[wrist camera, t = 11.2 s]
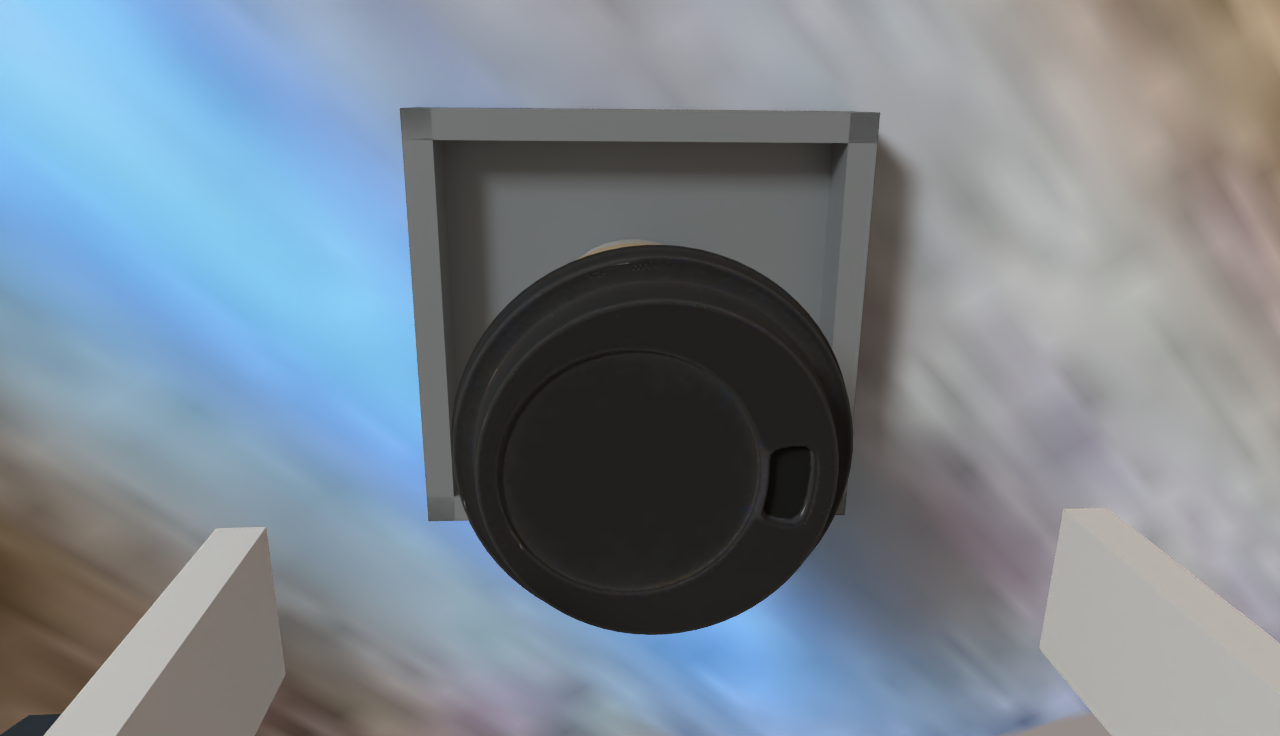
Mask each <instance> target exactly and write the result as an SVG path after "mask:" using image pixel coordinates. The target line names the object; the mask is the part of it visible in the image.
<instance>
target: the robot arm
mask: <svg viewBox="0 0 1280 736" xmlns="http://www.w3.org/2000/svg"><path fill="white" fill-rule="evenodd" d="M1039 649H1040V650H1041V651H1042V653H1043V654H1044V655H1045V656H1046V657H1047V659H1048V660H1049V661H1050V662H1051V663H1052V665H1053V666H1054V667H1055V668H1056V669H1057V671H1058V672H1059V673H1060V674H1061V675H1062V677H1063V678H1064V679H1065V680H1066V681H1067V683H1068V684H1069V685H1070V686H1071V687H1072V689H1073V690H1074V691H1075V692H1076V693H1077V695H1078V696H1079V697H1080V698H1081V699H1082V701H1083V702H1084V703H1085V704H1086V706H1087V707H1088V708H1089V709H1090V710H1091V712H1092V713H1093V714H1094V715H1095V716H1096V718H1097V719H1098V720H1099V721H1100V722H1101V724H1102V725H1103V726H1104V727H1105V728H1106V730H1107V731H1108V732H1109V733H1110V734H1111V735H1112V736H1280V643H1279V642H1278V641H1276V640H1275V639H1274V638H1272V637H1271V636H1270V635H1269V634H1267V633H1266V632H1265V631H1264V630H1262V629H1261V628H1260V627H1258V626H1257V625H1256V624H1255V623H1253V622H1252V621H1251V620H1249V619H1248V618H1247V617H1246V616H1244V615H1243V614H1242V613H1241V612H1239V611H1238V610H1237V609H1235V608H1234V607H1233V606H1232V605H1230V604H1229V603H1228V602H1226V601H1225V600H1224V599H1223V598H1221V597H1220V596H1219V595H1218V594H1216V593H1215V592H1214V591H1212V590H1211V589H1210V588H1209V587H1207V586H1206V585H1205V584H1203V583H1202V582H1201V581H1200V580H1198V579H1197V578H1196V577H1195V576H1193V575H1192V574H1191V573H1189V572H1188V571H1187V570H1186V569H1184V568H1183V567H1182V566H1180V565H1179V564H1178V563H1177V562H1175V561H1174V560H1173V559H1172V558H1170V557H1169V556H1168V555H1166V554H1165V553H1164V552H1163V551H1161V550H1160V549H1159V548H1157V547H1156V546H1155V545H1154V544H1152V543H1151V542H1150V541H1149V540H1147V539H1146V538H1145V537H1143V536H1142V535H1141V534H1140V533H1138V532H1137V531H1136V530H1135V529H1133V528H1132V527H1131V526H1129V525H1128V524H1127V523H1126V522H1124V521H1123V520H1122V519H1120V518H1119V517H1118V516H1117V515H1115V514H1114V513H1113V512H1112V511H1110V510H1109V509H1108V508H1082V509H1063V514H1062V520H1061V526H1060V531H1059V537H1058V543H1057V549H1056V554H1055V560H1054V566H1053V572H1052V578H1051V583H1050V589H1049V595H1048V601H1047V606H1046V612H1045V618H1044V624H1043V629H1042V635H1041V641H1040V647H1039ZM285 675H286V673H285V666H284V658H283V651H282V643H281V636H280V628H279V621H278V613H277V606H276V598H275V591H274V583H273V576H272V568H271V561H270V553H269V546H268V538H267V531H266V527H252V528H216V529H215V530H214V532H213V533H212V534H211V535H210V536H209V538H208V539H207V540H206V541H205V542H204V544H203V545H202V546H201V547H200V548H199V550H198V551H197V552H196V553H195V554H194V556H193V557H192V558H191V559H190V560H189V562H188V563H187V564H186V565H185V566H184V568H183V569H182V570H181V571H180V572H179V574H178V575H177V576H176V577H175V578H174V580H173V581H172V582H171V583H170V584H169V586H168V587H167V588H166V589H165V590H164V592H163V593H162V594H161V595H160V596H159V598H158V599H157V600H156V601H155V602H154V604H153V605H152V606H151V607H150V608H149V610H148V611H147V612H146V613H145V614H144V616H143V617H142V618H141V619H140V620H139V622H138V623H137V624H136V625H135V626H134V628H133V629H132V630H131V631H130V632H129V634H128V635H127V636H126V637H125V638H124V640H123V641H122V642H121V643H120V644H119V646H118V647H117V648H116V649H115V650H114V652H113V653H112V654H111V655H110V656H109V658H108V659H107V660H106V661H105V662H104V664H103V665H102V666H101V667H100V668H99V670H98V671H97V672H96V673H95V674H94V676H93V677H92V678H91V679H90V680H89V682H88V683H87V684H86V685H85V686H84V688H83V689H82V690H81V691H80V692H79V694H78V695H77V696H76V697H75V698H74V700H73V701H72V702H71V703H70V704H69V706H68V707H67V708H66V709H65V710H64V712H63V713H62V714H51V715H29V716H27V717H26V718H24V719H23V720H22V721H20V722H19V723H17V724H16V725H14V726H13V727H11V728H10V729H8V730H7V731H5V732H4V733H2V734H1V735H0V736H255V734H256V732H257V730H258V728H259V726H260V724H261V722H262V720H263V718H264V716H265V714H266V712H267V710H268V708H269V706H270V704H271V702H272V700H273V698H274V696H275V694H276V692H277V690H278V689H279V687H280V685H281V683H282V681H283V679H284V677H285Z"/></svg>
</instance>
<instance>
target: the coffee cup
mask: <svg viewBox="0 0 1280 736" xmlns="http://www.w3.org/2000/svg"><path fill="white" fill-rule="evenodd" d="M451 435H452V454H453V465H454V473H455V479H456V483H457V488H458V492H459V496H460V499H461V502H462V505H463V508H464V510H465V513H466V515H467V517H468V520H469V522H470V524H471V526H472V528H473V529H474V531H475V533H476V535H477V537H478V538H479V540H480V541H481V543H482V544H483V546H484V547H485V549H486V550H487V552H488V553H489V554H490V555H491V556H492V558H493V559H494V560H495V561H496V563H497V564H498V565H499V566H500V567H501V568H502V569H503V570H504V571H505V572H506V573H507V574H508V575H509V576H510V577H511V578H512V579H514V580H515V581H516V582H517V583H518V584H520V585H521V586H522V587H523V588H525V589H526V590H527V591H529V592H530V593H532V594H533V595H534V596H536V597H538V598H539V599H541V600H543V601H544V602H546V603H548V604H549V605H551V606H552V607H554V608H556V609H557V610H559V611H561V612H562V613H564V614H566V615H568V616H571V617H573V618H575V619H577V620H579V621H582V622H585V623H587V624H590V625H593V626H597V627H600V628H603V629H608V630H612V631H617V632H623V633H631V634H646V635H657V634H672V633H681V632H686V631H692V630H697V629H700V628H704V627H708V626H711V625H714V624H717V623H720V622H723V621H725V620H728V619H730V618H732V617H734V616H737V615H739V614H741V613H743V612H744V611H746V610H748V609H750V608H752V607H753V606H755V605H756V604H758V603H760V602H761V601H763V600H764V599H766V598H767V597H768V596H769V595H771V594H772V593H773V592H775V591H776V590H777V589H778V588H779V587H780V586H782V585H783V584H784V583H785V582H786V581H787V580H788V579H789V578H790V577H791V576H792V575H793V574H794V573H795V572H796V571H797V569H798V568H799V567H800V566H801V564H802V563H803V562H804V561H805V559H806V558H807V557H808V556H809V555H810V553H811V552H812V551H813V549H814V548H815V547H816V546H817V544H818V543H819V541H820V540H821V538H822V537H823V535H824V534H825V532H826V531H827V529H828V527H829V526H830V524H831V522H832V520H833V518H834V516H835V514H836V512H837V510H838V507H839V505H840V503H841V500H842V497H843V494H844V491H845V488H846V485H847V481H848V477H849V472H850V467H851V460H852V452H853V426H852V415H851V409H850V403H849V399H848V395H847V391H846V387H845V383H844V379H843V375H842V372H841V370H840V367H839V364H838V361H837V359H836V357H835V354H834V352H833V350H832V348H831V346H830V344H829V342H828V341H827V339H826V337H825V336H824V334H823V333H822V331H821V329H820V328H819V326H818V325H817V324H816V322H815V321H814V320H813V319H812V317H811V316H810V315H809V313H808V312H807V311H806V310H805V309H804V308H803V307H802V306H801V305H800V304H799V302H798V301H797V300H795V299H794V298H793V297H792V296H791V295H790V294H789V293H788V292H787V291H785V290H784V289H783V288H782V287H780V286H779V285H778V284H776V283H775V282H774V281H772V280H771V279H769V278H768V277H766V276H764V275H763V274H761V273H759V272H758V271H756V270H754V269H753V268H750V267H748V266H746V265H744V264H742V263H740V262H738V261H736V260H733V259H730V258H727V257H725V256H722V255H719V254H716V253H712V252H708V251H705V250H701V249H695V248H689V247H684V246H673V245H664V244H661V243H658V242H654V241H649V240H640V239H628V240H618V241H613V242H609V243H605V244H603V245H600V246H598V247H596V248H593V249H591V250H590V251H588V252H587V253H586V254H584V255H583V256H581V257H580V258H578V259H577V260H575V261H572V262H570V263H568V264H566V265H564V266H562V267H560V268H558V269H556V270H554V271H552V272H550V273H549V274H547V275H545V276H544V277H542V278H540V279H539V280H537V281H536V282H534V283H533V284H532V285H530V286H529V287H528V288H526V289H525V290H523V291H522V292H521V293H520V294H519V295H518V296H516V297H515V298H514V299H513V300H512V301H511V302H510V303H509V304H508V305H507V306H506V307H505V308H504V309H503V310H502V311H501V312H500V313H499V314H498V315H497V316H496V318H495V319H494V320H493V321H492V323H491V324H490V325H489V327H488V328H487V329H486V331H485V332H484V333H483V335H482V337H481V338H480V340H479V341H478V343H477V344H476V346H475V348H474V350H473V352H472V354H471V356H470V358H469V360H468V362H467V364H466V367H465V369H464V372H463V374H462V377H461V379H460V383H459V386H458V390H457V394H456V397H455V403H454V409H453V416H452V429H451Z"/></svg>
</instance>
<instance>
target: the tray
mask: <svg viewBox="0 0 1280 736" xmlns="http://www.w3.org/2000/svg"><path fill="white" fill-rule="evenodd" d="M400 117H401V131H402V146H403V160H404V175H405V189H406V203H407V218H408V232H409V247H410V261H411V275H412V290H413V304H414V319H415V333H416V347H417V362H418V376H419V391H420V405H421V419H422V434H423V448H424V462H425V477H426V491H427V506H428V520H429V521H464V520H468V517H467V515H466V513H465V510H464V508H463V505H462V502H461V499H460V496H459V492H458V488H457V483H456V479H455V473H454V465H453V454H452V435H451V429H452V416H453V409H454V403H455V397H456V394H457V390H458V386H459V383H460V379H461V377H462V374H463V372H464V369H465V367H466V364H467V362H468V360H469V358H470V356H471V354H472V352H473V350H474V348H475V346H476V344H477V343H478V341H479V340H480V338H481V337H482V335H483V333H484V332H485V331H486V329H487V328H488V327H489V325H490V324H491V323H492V321H493V320H494V319H495V318H496V316H497V315H498V314H499V313H500V312H501V311H502V310H503V309H504V308H505V307H506V306H507V305H508V304H509V303H510V302H511V301H512V300H513V299H514V298H515V297H516V296H518V295H519V294H520V293H521V292H522V291H523V290H525V289H526V288H528V287H529V286H530V285H532V284H533V283H534V282H536V281H537V280H539V279H540V278H542V277H544V276H545V275H547V274H549V273H550V272H552V271H554V270H556V269H558V268H560V267H562V266H564V265H566V264H568V263H570V262H572V261H575V260H577V259H578V258H580V257H581V256H583V255H584V254H586V253H587V252H588V251H590V250H591V249H593V248H596V247H598V246H600V245H603V244H605V243H609V242H613V241H618V240H628V239H640V240H649V241H654V242H658V243H661V244H664V245H673V246H684V247H689V248H695V249H701V250H705V251H708V252H712V253H716V254H719V255H722V256H725V257H727V258H730V259H733V260H736V261H738V262H740V263H742V264H744V265H746V266H748V267H750V268H753V269H754V270H756V271H758V272H759V273H761V274H763V275H764V276H766V277H768V278H769V279H771V280H772V281H774V282H775V283H776V284H778V285H779V286H780V287H782V288H783V289H784V290H785V291H787V292H788V293H789V294H790V295H791V296H792V297H793V298H794V299H795V300H797V301H798V302H799V304H800V305H801V306H802V307H803V308H804V309H805V310H806V311H807V312H808V313H809V315H810V316H811V317H812V319H813V320H814V321H815V322H816V324H817V325H818V326H819V328H820V329H821V331H822V333H823V334H824V336H825V337H826V339H827V341H828V342H829V344H830V346H831V348H832V350H833V352H834V354H835V357H836V359H837V361H838V364H839V367H840V370H841V372H842V375H843V379H844V383H845V387H846V391H847V395H848V399H849V403H850V409H851V415H852V426H853V414H854V403H855V391H856V380H857V369H858V357H859V346H860V335H861V323H862V312H863V300H864V289H865V278H866V266H867V255H868V244H869V232H870V221H871V209H872V198H873V187H874V175H875V164H876V152H877V141H878V130H879V118H880V113H875V112H853V111H746V110H640V109H534V108H427V107H416V108H400ZM847 482H848V481H847ZM846 494H847V485H846V488H845V491H844V494H843V497H842V500H841V503H840V505H839V507H838V510H837V512H836V514H835V515H845V505H846Z"/></svg>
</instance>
